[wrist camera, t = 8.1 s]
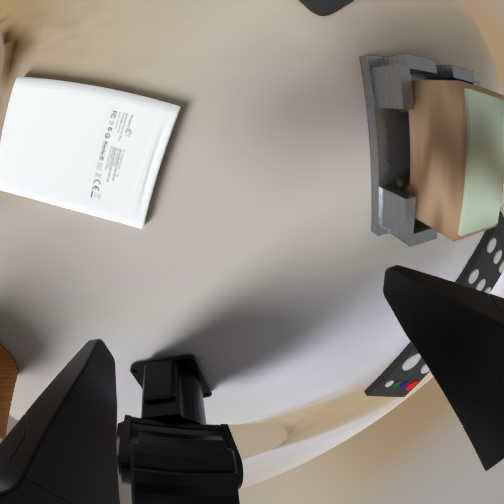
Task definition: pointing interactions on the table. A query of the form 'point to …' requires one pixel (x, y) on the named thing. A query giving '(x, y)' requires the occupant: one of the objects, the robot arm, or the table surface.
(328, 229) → the table surface
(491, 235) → the remote control
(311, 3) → the phone
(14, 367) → the disposable coffee cup
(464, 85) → the brown and green block
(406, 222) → the chassis
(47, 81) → the external hard drive
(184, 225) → the table surface
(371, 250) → the table surface
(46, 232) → the table surface
